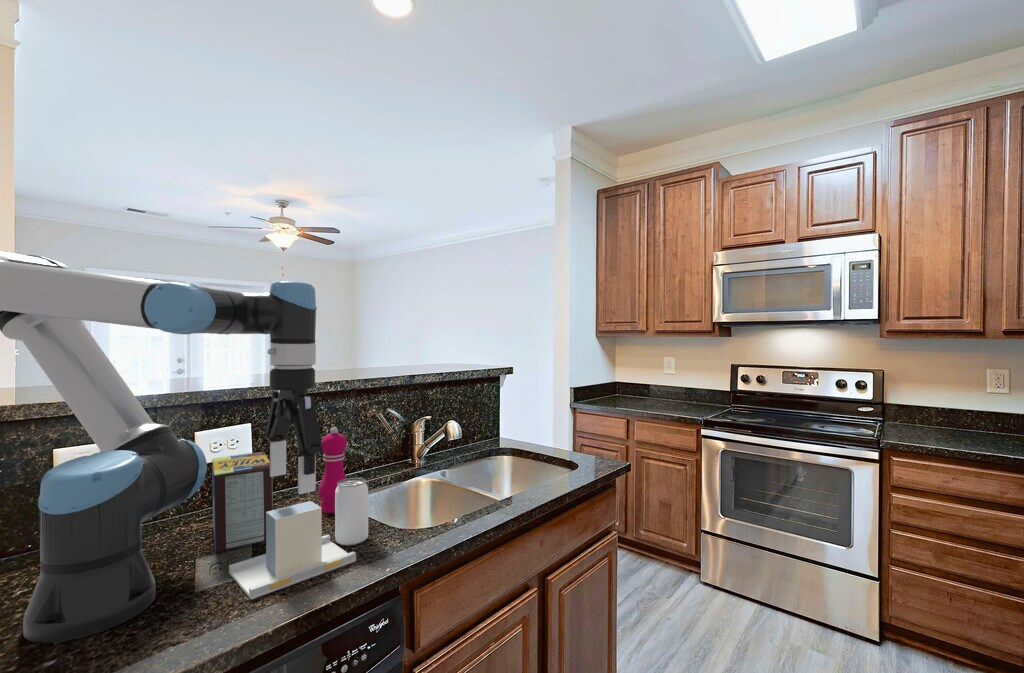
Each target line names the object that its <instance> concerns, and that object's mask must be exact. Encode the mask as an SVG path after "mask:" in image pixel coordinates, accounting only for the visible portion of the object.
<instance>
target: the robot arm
mask: <svg viewBox="0 0 1024 673" xmlns="http://www.w3.org/2000/svg"><path fill="white" fill-rule="evenodd" d="M316 302H317V299H316V289H315V287H314V286H313V285H312V284H310V283H307V282H300V281H290V280H289V281H287V280H285V281H274V282H272V283H271V285H270V290H269V292H262V293H261V292H259V293H257V292H238V291H232V290H225V289H219V288H211V287H206V286H201V285H197V284H195V283H188V282H187V283H186V282H179V281H175V282H173V281H172V282H171V281H169V282H168V281H162V280H155V279H147V278H139V277H132V276H123V275H117V274H116V275H115V274H109V273H108V274H107V273H100V272H91V271H83V270H74V269H72V268H71V267H69V266H68V265H66V264H64V263H62V262H60V261H57V260H53V259H51V258H47V257H44V256H40V255H35V254H20V253H15V252H8V251H3V250H0V332H1V333H2V335H3V336H4V337H5V338H7V339H10V340H15V341H21V342H22V343H23V344H24V345H25V348H26V349H27V350H28V351H29V353H30V354H31V356H32V357H33V358H34V359H35V361H36V363H38V366H39V367H40V368H41V369H42V371H43V372H44V373H45V375H46V377H47V379H49V380H50V382H51V383H52V384H53V387H55V389H56V390H57V391H58V393H59V394H60V396H61V397H62V399H63V400H64V402H65V403H66V405H67V406H68V408H70V410H71V411H72V413H73V414H74V416H75V417H76V418H77V420H78V421H79V423H80V424H81V425H82V427H83V428H84V429H85V432H87V434H88V435H89V437H90V438H91V440H92V441H93V443H94V444H95V445H96V447H97V448H98V449H99V452H95V453H92V454H90V455H83V456H79V457H76V458H73V459H69V460H66V461H64V462H62V463H60V464H58V465H55V466H54V467H52V468H51V469H50V470H48V471H47V472H46V473H45V474H44V475H43V477H42V479H41V481H40V487H39V488H40V492H39V496H38V500H37V507H38V512H39V513H38V516H39V517H38V519H39V520H38V521H39V523H38V524H39V526H38V527H39V557H40V558H39V561H40V562H39V563H40V564H39V565H40V567H39V568H40V571H39V572H40V573H39V577H38V580H37V582H36V586H35V587H34V590H33V593H32V596H31V598H30V600H29V603H28V605H27V608H26V610H25V613H24V615H23V621H22V622H23V624H22V625H23V627H22V631H23V632H22V633H23V634H22V635H23V637H24V639H25V640H27V639H28V640H27V641H29V640H30V641H29V642H31V641H34V642H33V643H36V642H48V643H47V644H55V643H54V642H56V643H62V641H64V642H68V641H69V640H70V641H73V639H75V640H78V638H79V639H82V637H83V638H87V637H90V636H92V635H95V634H99V633H102V632H105V631H107V630H110V629H113V628H115V627H118V626H119V625H121V624H123V623H126V622H128V621H130V620H131V619H133V618H135V617H137V616H138V615H139V614H141V613H143V612H144V611H145V610H147V609H148V608H149V607H150V606H151V605H152V603H153V602H154V601H155V598H156V595H157V594H156V590H157V589H156V588H157V587H156V579H155V577H154V576H153V573H152V570H151V569H150V566H149V564H148V561H147V560H146V558H145V555H144V553H143V549H142V548H143V546H142V545H143V544H142V536H143V535H142V523H145V522H147V521H148V520H150V519H152V518H154V517H156V516H157V515H159V514H161V513H163V512H165V511H168V510H169V509H171V508H175V507H178V506H179V505H181V504H182V503H183V502H185V501H186V500H187V499H189V498H191V497H192V496H193V495H195V493H197V492H198V491H199V490H200V488H201V487H202V485H203V483H204V481H205V479H206V474H207V471H208V463H207V459H206V456H205V453H204V451H203V450H202V448H201V447H200V446H199V445H198V444H196V443H195V442H194V441H192V440H187V439H184V438H178V437H177V436H176V435H175V433H174V432H173V431H172V429H171V428H170V427H169V425H167V424H162V423H155V422H154V421H153V420H152V418H151V417H150V415H149V414H148V413H147V411H146V410H145V408H144V407H143V405H142V404H141V403H140V401H139V400H138V398H137V397H136V396H135V395H134V393H133V391H132V389H130V387H129V386H128V384H127V383H126V382H125V380H124V379H123V377H122V376H121V374H120V373H119V372H118V371H117V369H116V367H115V366H114V365H113V363H112V362H111V361H110V358H108V356H107V355H106V353H105V352H104V351H103V349H102V348H101V346H100V345H99V344H98V342H97V341H96V339H95V338H94V337H93V335H92V334H91V332H90V331H89V330H88V328H87V327H86V325H85V324H84V323H83V321H86V322H87V321H88V322H97V323H103V324H113V325H121V326H128V327H138V328H145V329H153V330H154V329H155V330H159V331H162V332H165V333H168V334H169V333H170V334H175V335H191V334H211V335H212V334H215V335H260V334H261V335H269V337H270V342H269V343H270V348H269V349H267V354H268V355H269V356H270V357H269V358H270V360H269V362H270V365H271V366H272V367H273V368H271V370H269V388H270V389H271V390H272V391H271V392H272V393H271V404H270V410H269V414H268V418H267V423H266V429H265V432H264V433H265V437H268V440H269V442H270V443H269V462H270V477H272V478H275V477H278V476H283V475H287V440H288V438H289V437H288V435H287V431H288V429H289V426H290V425H292V426H293V430H294V434H295V437H296V441H297V444H298V447H299V451H298V452H297V454H296V457H298V460H297V462H298V465H297V473H298V474H297V494H298V495H303V494H307V493H311V492H316V486H317V485H316V482H317V478H316V475H317V472H316V471H317V454H319V453H322V452H323V448H322V442H321V441H322V438H321V437H322V436H321V432H320V428H319V421H318V416H317V412H316V411H317V410H316V398H315V396H314V395H313V396H312V395H311V396H309V395H308V396H307V390H310V389H313V388H314V387H315V386H316V369H314V367H313V366H314V365H316V363H317V362H316V360H317V357H316V355H317V352H316V351H317V348H316V347H317V346H316V344H317V343H316V330H317V328H316V326H317V325H316V322H317V308H318V307H317V303H316ZM70 641H69V642H70ZM49 642H51V643H49ZM52 642H53V643H52Z"/></svg>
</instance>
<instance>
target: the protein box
mask: <svg viewBox="0 0 1024 673" xmlns="http://www.w3.org/2000/svg"><path fill="white" fill-rule="evenodd" d="M211 465H212V466H211V469H212V470H211V472H212V473H211V476H212V479H211V480H212V481H211V482H212V484H211V485H212V487H211V488H212V493H211V494H212V500H211V501H212V528H213V541H214V543H213V544H214V553H221V552H224V551H229V550H233V549H238V548H242V547H247V546H252V545H256V544H260V543H265V542H266V512H268V511H272V510H274V509H273V507H274V506H273V505H274V502H273V501H274V499H273V496H274V495H273V494H274V491H273V477H270V459H269V458H268V457H267V454H266V453H265V451H260V452H251V453H243V454H236V455H227V456H226V455H225V456H221V457H219V456H218V457H213V458H212V464H211Z"/></svg>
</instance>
